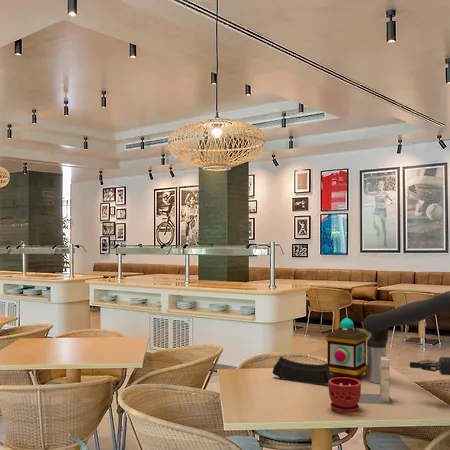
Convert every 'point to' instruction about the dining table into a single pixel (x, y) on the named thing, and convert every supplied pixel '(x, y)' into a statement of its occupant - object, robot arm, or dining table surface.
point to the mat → (373, 399)
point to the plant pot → (344, 394)
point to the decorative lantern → (347, 350)
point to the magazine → (302, 372)
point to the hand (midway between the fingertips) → (410, 364)
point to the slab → (384, 379)
